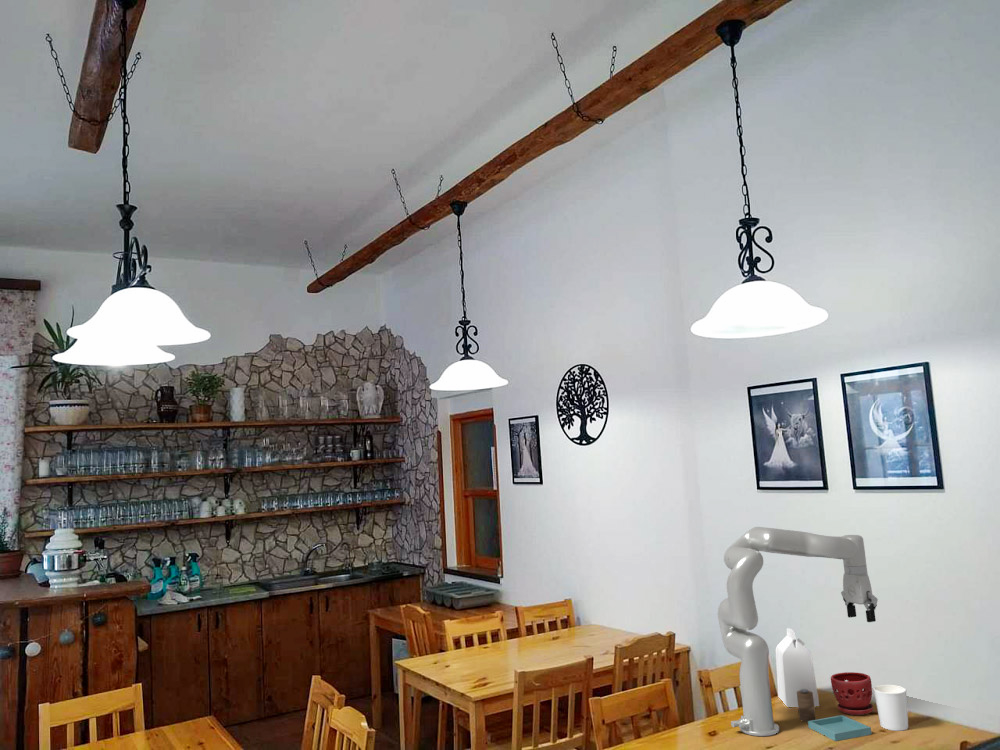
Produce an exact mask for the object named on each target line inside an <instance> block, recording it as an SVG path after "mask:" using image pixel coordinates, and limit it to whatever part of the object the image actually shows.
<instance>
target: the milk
mask: <svg viewBox="0 0 1000 750" xmlns="http://www.w3.org/2000/svg"><path fill="white" fill-rule="evenodd" d="M805 644H806V643H805V642H804V641H802V639H800V638H797V637H796V633H795V630H793V629H792V628H791V627H787V628H786V636H785V637H783V639H782V640H781V641H779V643H777V645H776V647H775V662H776V663H775V665H776V679H777V696H778V697H779V698H780V699H781V700H782V701H783V703H784V704H785V705H786V706H787V707H798V700H797V691H800V690H801V689H807V690H808V691H811V692H813V700H814V706H815V707H814V708H817V707H816V706H820V701H819V693H818V688H817V681H816V676H815V675H816V673H815V668H814V667H815V666H814V662H813V655H812V652H811V651H810V650H809V649H808V648H806V647H805ZM779 698H778V699H779ZM780 699H779V700H780ZM783 703H782V704H783ZM784 704H783V705H784ZM785 705H784V706H785Z"/></svg>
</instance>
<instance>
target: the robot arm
mask: <svg viewBox="0 0 1000 750" xmlns="http://www.w3.org/2000/svg"><path fill="white" fill-rule="evenodd" d="M761 552H763V553H765V552H766V553H770V554H780V555H790V556H798V557H807V558H808V557H809V558H812V557H813V558H826V559H837V560H842V564H843V570H844V573H843V578H842V589H843V590H842V591H841V592H840V594H841V596H842V599H843V602H844V604H845V606H846V613H847V618H854V617H855V618H856V617H857V610H856V608H857V607H856V605H855V604H857V605H863V606H864V607H865V609H866V610H865V617H866V622H867V623H874V622H876V612H875V610H876V608H877V606H878V600H879V599H878V598H877V597H876V596H875V595H874V594H873V591H872V590H873V589H872V584H871V580H870V576H869V573H868V567H867V557H866V549H865V541H864V538H863V537H862V536H861V535H859V534H846V535H842V536H834V535H833V536H831V535H824V534H823V535H821V534H818V533H817V534H816V533H812V532H807V531H801V530H791V529H781V528H773V527H763V526H762V527H761V526H755V527H752V528H750V529H749V530H748V531H746V532H745V533H744V534H743V535H742V536H741V537H739V538H738V539H737V540H736V541H735V542H734V543H732V544H731V545H730V546H729V547H728V548H727V549H726V550H725V552H724V555H723V562H724V563H725V566H726V567H727V568H728V569H730V573H729V575H728V577H727V579H726V592H727V598H724V599H723V600H722V601H721V602H720V603H719V606H718V608H717V609H718V610H717V617H718V618H717V619H718V625H719V628H720V632H721V633H720V634H721V639H722V643H723V646H724V648H725V650H726V652H727V653H729V654H730V656H733V657H734V658H737V659H740V660H741V662H740V667H739V683H740V693H741V704H742V712H743V713H742V715H741V716H740V718H739V719H738V720H731V721H730V724H731V727H732V728H736V727H738V728H739V730H740V732H742V733H744V734H746V735H750V736H754V737H769V736H774V735H776V733H777V734H778V733H779V732H780V726H779V725H778V724H777V723H775V721H774V713H773V704H772V694H771V684H770V676H769V659H770V658H769V657H770V648H769V645H768V643H767V641H766V640H765V639H764V638H763V637H762V636H760V635H759V634H756V633H753V632H750V631H751V630H754V629H755V628H756V627H757V626H758V623H759V616H758V610H757V605H756V601H755V596H754V590H753V583H754V580H755V578H756V577H757V575H758V574H759V573H760V571H761V570H762V568H763V565H764V557H763V555H762V553H761Z"/></svg>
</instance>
